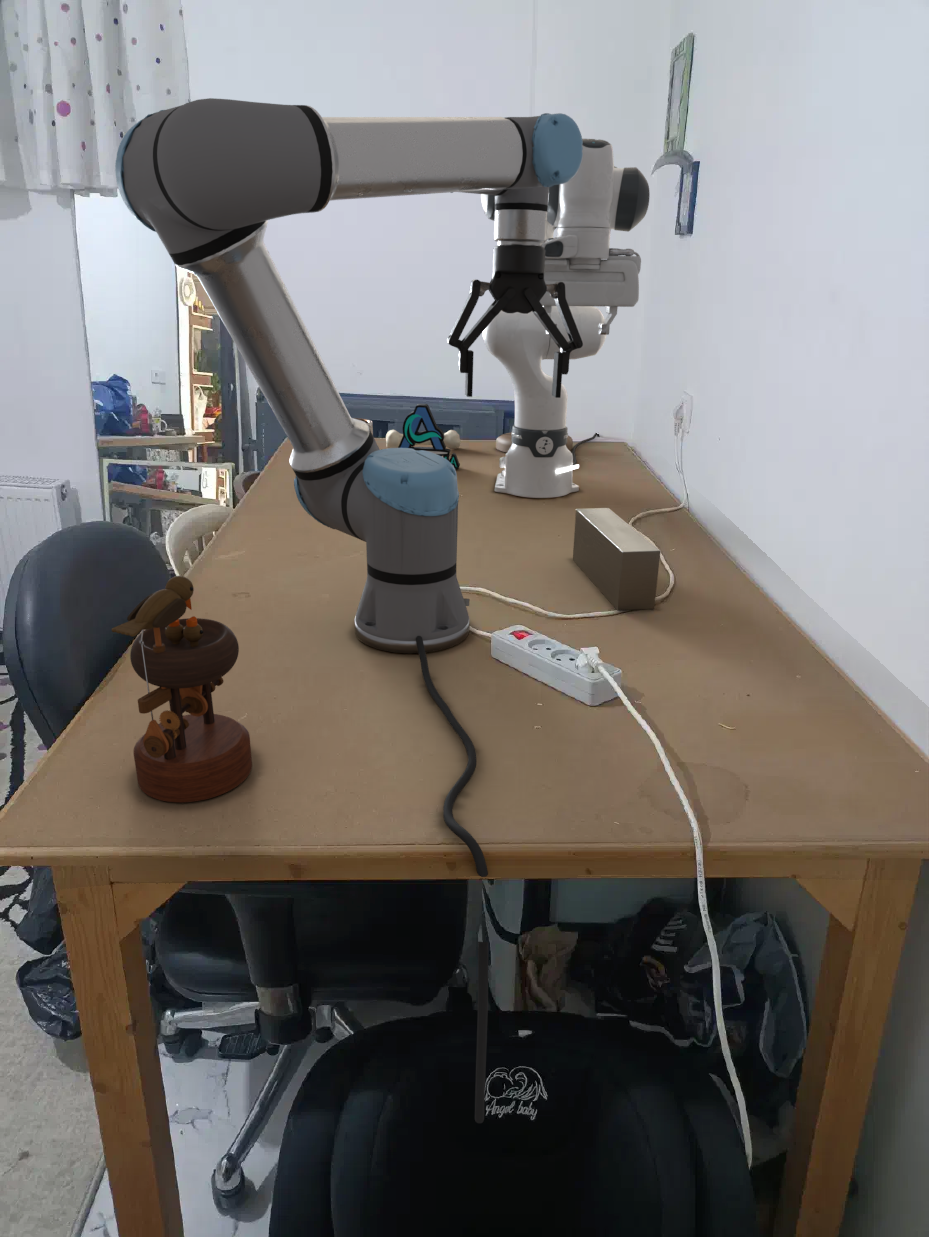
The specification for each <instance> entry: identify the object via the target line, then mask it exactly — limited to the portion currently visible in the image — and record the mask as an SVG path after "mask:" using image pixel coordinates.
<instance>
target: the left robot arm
mask: <svg viewBox="0 0 929 1237" xmlns="http://www.w3.org/2000/svg"><path fill="white" fill-rule="evenodd" d="M582 139H583V137H582V132H581V130H580V128H579V126H578V124H577V123H576V120H574V119H573V118H572V117H571V116H570V115H567V114H566V113H560V112H559V113H548V112H546V113H542V114H540V115H535V116H508V117H507V116H506V117H503V116H322V115H321V114H320V113H319V112H318V110H316V108H314V107H313V106H311V105H307V104H280V103H271V102H270V103H269V102H257V101H247V100H237V99H228V98H212V97H210V98H200V99H195V100H192V101H190V102H186V103H184V104H182V105H178V106H174V107H170V108H167V109H161V110H159V111H156V112H154V113H148V114H147V115H145V117H143V118H142V119H141V120H139V121H137V122H136V123H135V124H134V125H132V126H131V127H130V128H129V129H128V130H127V131H126V133H125V134H124V135H123V137H122V139H121V141H120V143H119V145H118V148H117V152H116V158H115V163H114V164H115V165H114V167H115V168H114V169H115V170H114V171H115V179H116V185H117V189H118V191H119V195H120V197H121V199H122V201H123V203H124V204H125V206H126V208H127V209H128V211H129V212H130V213H131V214H132V216H133V217H134V218H135V219H136V220H138V222H140V223H141V224H142V225H143V226H145V227H146V228H148V229H149V230H150V231H152V232H154V233H156V235H157V236H158V238H159V239H160V241H161V243H162V244H163V246H164V249H165V250H166V251H167V253H168V255H169V256H170V259H171V260H172V262H173V264H174V265H175V267H176V268H178V269H180V270H184V271H187V272H189V273H192V274H193V275H194V276H196V277H197V279H198V280H199V282H200V284H201V286H202V288H203V289H204V291H205V293H206V294H207V296H208V298H209V300H210V303H211V304H212V305H213V307H214V309H215V311H216V313H217V315H218V316H219V318H220V319H221V322H222V323H223V325H224V327H225V328H226V330H227V332H228V333H229V336H230V337H231V339H232V341H233V342H234V344H235V346H236V348H237V350H238V351H239V353H240V355H241V357H242V359H243V360H244V362H245V364H246V366H247V368H248V370H249V371H250V373H251V375H252V376H253V379H254V380H255V382H256V384H257V385H258V387H259V389H260V391H261V393H262V395H263V396H264V398H265V399H266V401H267V403H268V405H269V407H270V408H271V410H272V412H273V414H274V416H275V417H276V420H277V421H278V423H279V424H280V427H281V428H282V430H283V432H284V433H285V435H286V437H287V439H288V440H289V443H290V445H291V446H292V450H291V453H290V457H289V460H288V461H289V462H288V463H289V465H290V468H291V469H292V471H293V472H294V474H295V477H294V479H293V486H294V492H295V495H296V498H297V500H298V502H299V504H300V506H301V507H302V508H303V510H304V511H305V512H306V513H307V514H308V515H309V516H310V517H312V518H313V519H314V520H315V521H316V522H318V523H320V524H322V525H323V526H325V527H327V528H330V529H332V530H336V531H339V532H341V533H343V534H346V535H349V536H351V537H353V538H355V539H358V540H360V541H362V542H365V545H366V546H365V548H366V579H365V584H364V586H363V589H362V592H361V596H360V600H359V602H358V606H357V609H356V612H355V617H354V633H355V636H356V638H357V639H358V640H359V641H360V642H362V643H363V644H365V645H367V646H368V647H371V648H374V649H377V650H380V651H384V652H390V653H396V654H397V653H398V654H418V657H419V663H420V668H421V674H422V678H423V682H424V684H425V687H426V689H427V691H428V693H429V695H430V696H431V698H432V699H433V701H434V702H435V703H436V705H437V706H438V707H439V710H440V711H441V712H442V713H443V715H444V717H445V719H446V721H447V722H448V723H449V725H450V726H451V728H452V729H453V731H454V732H455V733H456V734H457V736H458V738H459V739H460V740H461V742H462V743H463V745H464V748H465V750H466V754H467V764H466V767H465V769H464V771H463V773H462V774H461V776H460V777H459V778H458V779H457V781H456V782H455V784H453V786H452V787H451V788H450V790H449V791H448V793H447V795H446V797H445V799H444V802H443V808H442V809H443V812H442V814H443V821H444V823H445V825H446V826H447V828H448V829H449V830H450V831H451V832H452V833H453V834H454V835H455V836H456V837H458V838H459V839H460V840H461V841H462V842H463V843H464V844H465V845H466V846H467V848H468V849H469V851H470V853H471V855H472V858H473V861H474V865H475V868H476V873H477V875H478V876H479V877H480V878H486V877H488V876H489V872H488V865H487V862H486V858H485V856H484V853H483V851H482V849H481V846H480V844H479V843H478V842H477V840H476V838H474V836H473V835H472V834H471V833H470V832H469V831H467V830H466V829H465V828H464V827H463V826H462V825H460V824H459V823H458V821H456V820H455V817H454V813H453V812H454V811H453V809H454V804H455V802H456V800H457V798H458V796H459V794H460V793H461V792H462V791H463V789H464V788H465V786H466V785H467V784H468V783H469V782H470V780H471V778H472V777H473V775H474V773H475V770H476V768H477V752H476V748H475V745H474V742H473V741H472V739H471V737H470V736H469V735H468V733H467V732H466V730H465V729H464V728H463V727H462V725H461V724H460V723H459V721H458V719H457V718H456V717H455V715H454V714H453V712H452V710H451V709H450V707H449V706H448V704H447V703H446V702H445V700H444V698H442V696H441V695H440V693H439V692H438V689H437V688H436V687H435V685H434V682H433V680H432V677H431V673H430V668H429V663H428V658H427V657H428V656H427V653H433V652H439V651H443V650H446V649H449V648H452V647H455V646H457V645H458V644H460V643H462V642H463V641H464V640H466V639H467V637H468V636H469V634H470V615H469V612H468V608H467V607H470V598H464V596H463V593H462V589H461V586H460V583H459V581H458V577H457V561H458V560H457V559H458V558H457V557H458V528H459V527H458V523H459V522H458V521H459V499H460V492H459V488H458V474H457V471H456V470H457V469H455V468H454V466H453V465H452V464H451V463H450V462H449V461H448V460H447V459H445V458H443V456H442V457H441V456H439V455H437V454H435V453H431V452H428V451H424V450H420V451H417V450H414V449H411V448H387V447H386V448H383V449H380V447H379V445H378V443H377V441H376V439H375V437H374V434H373V435H372V433H371V431H370V429H369V427H368V425H367V424H366V423H365V422H363V421H361V420H357V419H354V418H355V417H351V415H350V413H349V410H348V409H347V406H346V405H345V402H344V400H343V398H342V397H341V394H340V392H339V390H338V388H337V387H336V385H335V383H334V381H333V378H332V376H331V375H330V372H329V370H328V368H327V366H326V364H325V362H324V360H323V358H322V356H321V355H320V352H319V351H318V348H317V346H316V345H315V342H314V340H313V339H312V336H311V334H310V332H309V331H308V328H307V326H306V324H305V322H304V320H303V318H302V316H301V314H300V312H299V310H298V308H297V306H296V303H295V302H294V300H293V298H292V296H291V294H290V292H289V290H288V288H287V286H286V284H285V282H284V280H283V278H282V276H281V274H280V272H279V270H278V268H277V266H276V264H275V262H274V260H273V258H272V256H271V254H270V252H269V250H268V248H267V246H266V244H265V240H264V239H265V234H266V230H267V227H268V223H269V222H268V221H270V220H274V219H280V218H284V217H288V216H294V215H302V214H310V213H311V214H312V213H313V214H314V213H319V212H321V211H323V210H324V209H325V208H326V207H327V206H328V204H329V202H331V201H345V200H358V199H359V200H360V199H361V200H362V199H375V198H389V197H403V196H404V197H405V196H418V195H431V194H432V195H434V194H446V193H450V194H453V193H464V194H475V195H481V194H486V195H491V196H495V221H494V224H493V225H494V227H493V241H494V242H497V245H495V246H494V247H493V250H492V251H493V252H492V274H491V275H492V276H491V279H490V281H481V280H480V279H472V280H471V281H470V284H469V292H468V296H467V299H466V300H465V302H464V304H463V306H462V309H461V311H460V312H459V314H458V317H457V319H456V320H455V322H454V324H453V327H452V328H451V331H450V333H449V335H448V337H447V339H446V342H447V344H448V345H449V346H451V347H452V348H453V347H454V348H456V349H457V350H458V371H459V373H460V374H465V378H464V379H465V381H464V383H465V384H464V395H465V396H466V397H467V398H473V386H474V385H473V384H474V351H473V349H472V350H471V349H470V348H471V347H472V346H473V344H474V343H475V342H476V341H477V339H478V338H479V337H480V336H481V335H482V332H483V331H484V330H485V328H486V327H487V326H488V325H489V324H490V322H491V321H492V320H493V319H494V318H495V317H496V316H497V315H498V314H499V313H500V311H501V310H502V311H503V312H505V313H516V312H519V313H522V314H528V313H530V312H531V311H532V312H533V313H534V315H535V316H536V317H537V318H538V320H539V321H540V322H541V324H542V325H543V327H544V328H545V329H546V331H547V332H548V333H549V335H550V336H551V338H552V339H553V340H554V342H555V343H556V345H557V346H558V347H559V349H560V352H554V359H553V367H552V368H553V369H552V373H553V374H552V377H553V383H552V396H554V397H555V398H560V397H561V383H562V381H563V375H568V373H569V372H570V371H569V370H570V359H569V358H570V353H571V351H573V350H575V349H578V348H581V347H582V346H583V342H582V339H581V337H580V334H579V332H578V329H577V326H576V324H575V321H574V319H573V316H572V313H571V311H570V308H569V306H568V303H567V300H566V294H565V284H564V283H563V282H556V283H553V284H546V283H545V281H544V268H545V250H544V247H542V243H544V242H545V241H546V231H547V210H548V194H549V187H552V186H554V185H558V184H564V183H566V182H568V181H570V180H571V179H572V178H573V177H574V176H575V174H576V173H577V171H578V169H579V167H580V164H581V161H582V156H583V153H582V150H583V147H582V144H583V141H582ZM486 291H488V292H489V293H490V295H491V297H492V298H493V301H492V303H491V304H490V305H489V307H488V308H487V309H486V310H485V312H484V313H483V314H482V316H481V317H480V318H479V319H478V320H477V321H476V323H475V324H474V325H473V327H471V329H470V330H469V331H468V332H467V334H465V336H464V337H463V338H462V339H460V337H461V336H462V334H463V331H464V329H465V328H466V326H467V324H468V321H469V320H470V317H471V315H472V313H473V312H474V310H475V307H476V306H477V304H478V301H479V298H480V297H483V296H484V295H485V293H486ZM546 291H547V292H548V293H549V294H550V297H551V298H554V300H555V304H556V306H557V309H558V311H559V314H560V317H561V319H562V322H563V324H564V327H565V329H566V332H567V334H568V337H569V340H570V341H569V342H567V341H566V339H565V338H564V336H563V335H562V334H561V332H560V331H559V329H558V328H557V326H556V325H555V324H554V322H553V321H552V319H551V318H550V317H549V315H548V314H547V312H546V310H545V309H544V307H543V306H542V304H541V303H540V302H539V301H540V300H541V299H542V297H543V296H544V295H545V293H546ZM488 1009H489V941H488V942H487V941H477V1021H476V1022H477V1024H476V1026H477V1027H476V1054H475V1055H476V1057H475V1058H476V1059H475V1087H474V1088H475V1091H474V1120H475V1121H474V1122H475V1123H477V1124H482V1123H483V1122H484V1120H485V1101H486V1100H485V1098H486V1097H485V1096H486V1070H487V1068H486V1067H487V1043H488V1014H489V1012H488V1011H489V1010H488Z"/></svg>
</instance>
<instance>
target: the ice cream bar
mask: <svg viewBox="0 0 929 1237" xmlns="http://www.w3.org/2000/svg"><path fill="white" fill-rule="evenodd" d="M511 433H512V431H510V432H506V433H502V434H500V435H498V437H496V440H495V449H497V450H498V451H501V452H503V453H508V450H509V449H510V447H511V445H512V441H511V438H512V435H511ZM566 447H567V449H568V450H569V451H570V452H571V453H572V449H573V447H574V440H573V438H572V437H571V436H570V435H568V437H567V444H566Z"/></svg>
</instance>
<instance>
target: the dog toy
mask: <svg viewBox="0 0 929 1237" xmlns="http://www.w3.org/2000/svg"><path fill="white" fill-rule="evenodd" d="M443 433H444V437H445V438H444V440H443V441H444V443H445V445H446V448H447V449H450V450H454V449H457V448H460V446H461V443H462V440H461V439H460V437H461V435H460V434H459V433H458V431H456V430H455V429H450V430H448V431H447V432H443ZM402 437H403V433H402V432H401V433H400V432H399V431H397V430H396V429H390V430H387V433H386V435H385V444H386V445H385V446H386V449H387V448H398V446H399V444H400V442H401V439H402ZM415 446H432V444H431V442H430V440H429V441H426V442H424V443H420V444H417V443H416V444H415Z"/></svg>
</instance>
